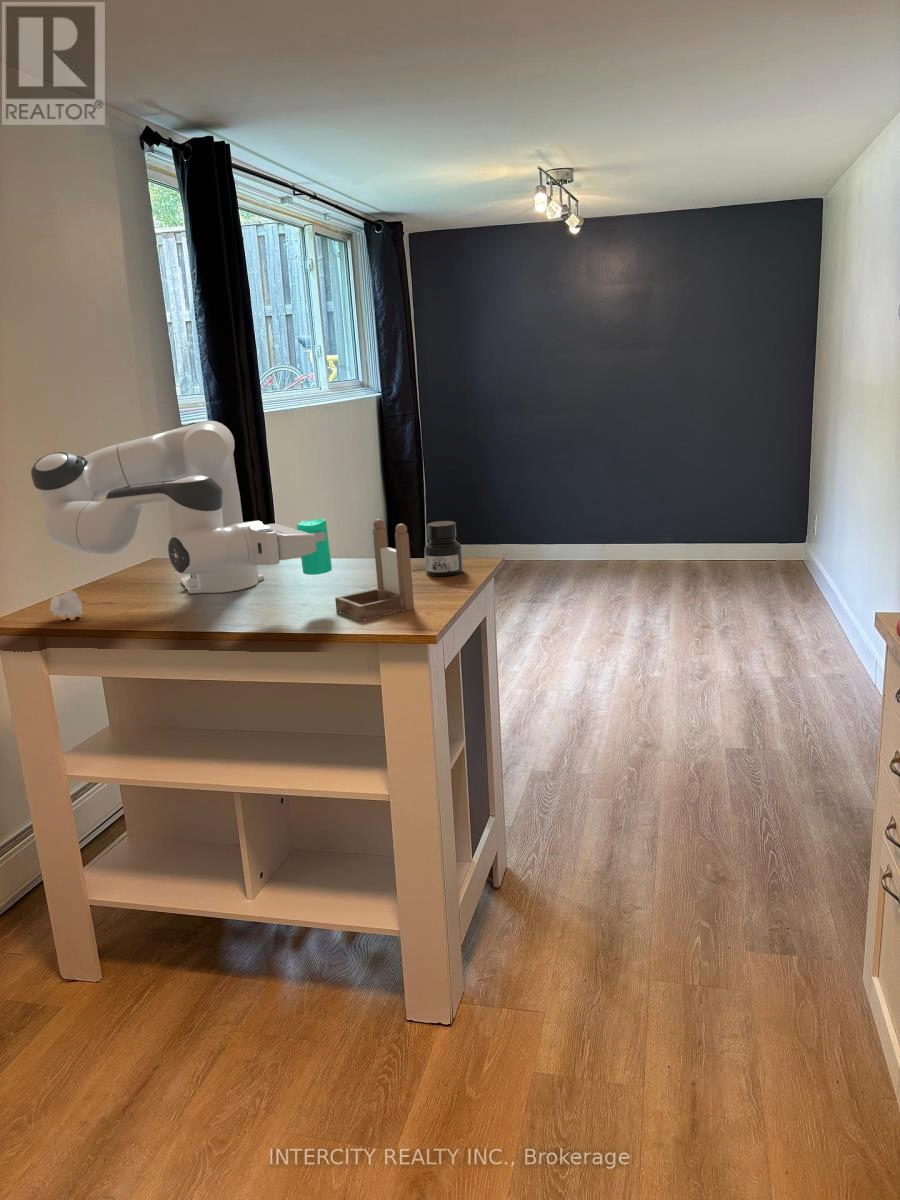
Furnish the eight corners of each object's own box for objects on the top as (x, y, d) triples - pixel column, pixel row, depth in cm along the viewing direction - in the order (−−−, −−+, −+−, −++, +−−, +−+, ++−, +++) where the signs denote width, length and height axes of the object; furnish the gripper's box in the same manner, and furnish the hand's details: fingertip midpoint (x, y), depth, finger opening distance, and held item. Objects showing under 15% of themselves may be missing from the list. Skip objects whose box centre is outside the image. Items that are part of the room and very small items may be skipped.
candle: (336, 567, 198) (329, 511, 194) (324, 574, 192) (317, 517, 189) (310, 567, 199) (303, 511, 196) (298, 574, 194) (290, 517, 191)
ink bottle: (419, 577, 222) (415, 527, 219) (431, 568, 231) (427, 520, 227) (458, 577, 219) (455, 527, 216) (469, 568, 228) (466, 520, 224)
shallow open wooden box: (336, 611, 197) (335, 597, 196) (379, 601, 203) (378, 588, 202) (361, 621, 189) (359, 606, 188) (405, 610, 194) (404, 596, 193)
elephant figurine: (62, 614, 209) (57, 589, 208) (94, 614, 208) (89, 588, 206) (43, 623, 203) (38, 597, 202) (75, 623, 201) (71, 596, 200)
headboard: (377, 601, 203) (370, 519, 198) (387, 599, 204) (380, 517, 200) (405, 611, 194) (398, 525, 189) (415, 608, 195) (408, 523, 190)
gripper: (236, 551, 196) (297, 542, 203) (275, 566, 180) (340, 555, 187) (233, 521, 195) (294, 513, 202) (272, 534, 178) (337, 524, 185)
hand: (316, 533), depth 194 cm, fingers closed on candle, 5 cm apart
